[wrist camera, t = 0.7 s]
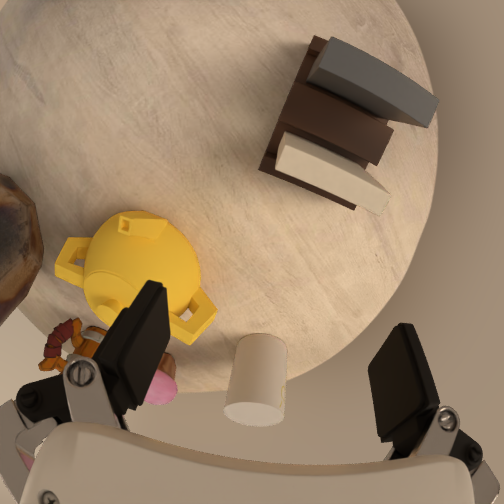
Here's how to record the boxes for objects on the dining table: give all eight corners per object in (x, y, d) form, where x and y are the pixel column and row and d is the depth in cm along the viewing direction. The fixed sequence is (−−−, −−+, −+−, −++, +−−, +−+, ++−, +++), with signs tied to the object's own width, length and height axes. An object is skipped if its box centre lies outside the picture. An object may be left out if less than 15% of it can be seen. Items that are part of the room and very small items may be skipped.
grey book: (314, 61, 20) (331, 35, 11) (387, 98, 21) (440, 100, 12) (305, 82, 22) (317, 67, 13) (379, 118, 22) (428, 129, 13)
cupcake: (138, 338, 45) (117, 380, 36) (182, 347, 44) (165, 394, 36) (149, 366, 49) (132, 405, 41) (189, 375, 49) (175, 417, 40)
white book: (285, 130, 24) (285, 144, 16) (358, 163, 25) (392, 195, 16) (278, 146, 25) (274, 169, 17) (350, 178, 26) (380, 217, 17)
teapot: (83, 224, 34) (30, 270, 24) (171, 177, 29) (115, 221, 19) (140, 312, 41) (108, 368, 31) (230, 292, 36) (211, 363, 26)
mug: (112, 364, 52) (86, 415, 39) (61, 313, 46) (24, 362, 33) (139, 357, 48) (111, 418, 36) (81, 299, 42) (38, 357, 29)
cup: (269, 370, 45) (263, 430, 34) (228, 352, 43) (214, 414, 33) (297, 346, 41) (296, 413, 30) (252, 326, 39) (241, 395, 29)
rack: (310, 43, 20) (314, 35, 17) (398, 87, 21) (412, 86, 18) (261, 162, 27) (258, 170, 24) (346, 198, 28) (354, 210, 25)
